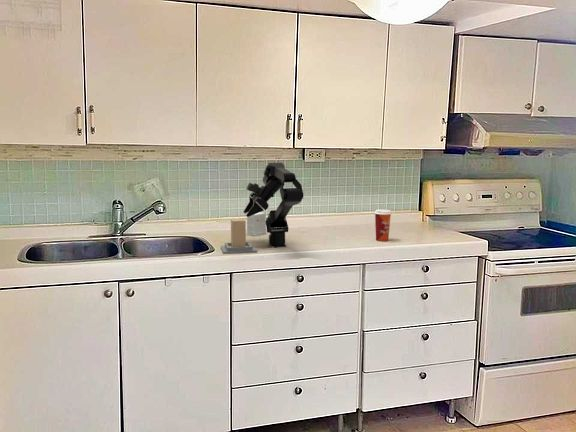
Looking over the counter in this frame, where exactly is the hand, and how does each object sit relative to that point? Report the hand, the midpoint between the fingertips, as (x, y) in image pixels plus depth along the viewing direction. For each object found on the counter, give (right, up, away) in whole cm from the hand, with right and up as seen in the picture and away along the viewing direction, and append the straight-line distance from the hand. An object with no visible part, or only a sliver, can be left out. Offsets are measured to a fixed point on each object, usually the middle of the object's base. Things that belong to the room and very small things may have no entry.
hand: (245, 214), depth 248 cm
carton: (-2, -14, -9) cm, 17 cm away
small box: (+3, -10, +27) cm, 29 cm away
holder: (-2, -15, -9) cm, 18 cm away
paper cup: (+62, -12, +14) cm, 65 cm away
